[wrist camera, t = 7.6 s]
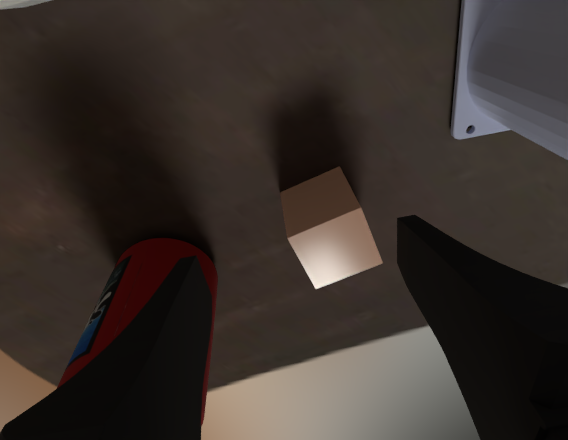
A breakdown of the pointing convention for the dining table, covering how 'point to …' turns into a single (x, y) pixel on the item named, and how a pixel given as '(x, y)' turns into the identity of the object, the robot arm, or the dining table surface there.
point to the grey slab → (19, 3)
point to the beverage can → (137, 297)
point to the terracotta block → (328, 228)
